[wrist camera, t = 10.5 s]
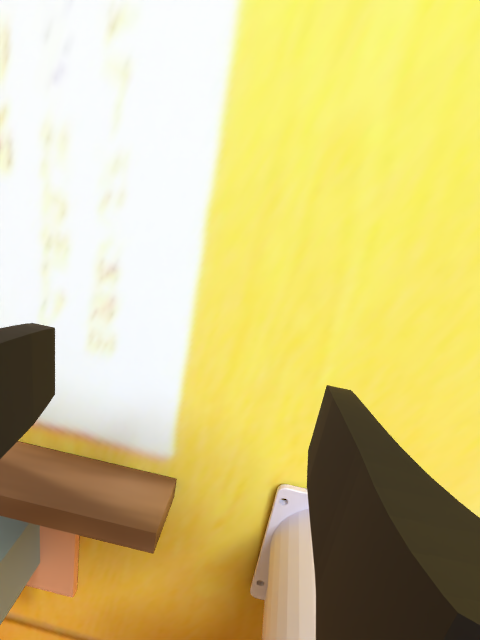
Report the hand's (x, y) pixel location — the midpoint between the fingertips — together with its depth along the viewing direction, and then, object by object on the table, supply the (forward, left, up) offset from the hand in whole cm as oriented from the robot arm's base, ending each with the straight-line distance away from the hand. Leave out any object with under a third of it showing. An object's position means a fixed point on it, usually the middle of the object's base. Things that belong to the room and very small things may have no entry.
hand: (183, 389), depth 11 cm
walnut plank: (-14, +10, -10) cm, 20 cm away
